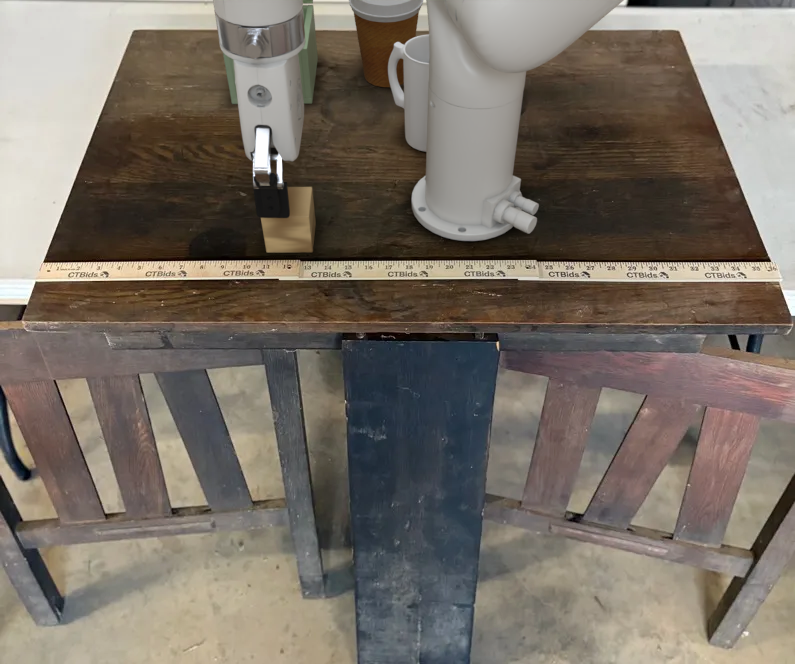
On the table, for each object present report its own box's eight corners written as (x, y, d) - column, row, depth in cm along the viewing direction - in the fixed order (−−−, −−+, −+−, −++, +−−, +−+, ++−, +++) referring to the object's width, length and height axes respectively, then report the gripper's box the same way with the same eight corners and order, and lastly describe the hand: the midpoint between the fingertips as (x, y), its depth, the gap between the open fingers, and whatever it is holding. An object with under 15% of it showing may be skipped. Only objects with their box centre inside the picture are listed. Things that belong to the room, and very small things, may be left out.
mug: (468, 136, 100) (474, 46, 91) (434, 160, 97) (437, 70, 88) (406, 107, 105) (406, 19, 96) (372, 130, 101) (369, 41, 92)
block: (315, 222, 89) (312, 186, 85) (312, 252, 86) (308, 216, 82) (271, 222, 89) (265, 186, 85) (266, 252, 86) (260, 217, 82)
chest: (312, 103, 105) (307, 48, 99) (231, 104, 105) (222, 49, 99) (317, 58, 113) (313, 4, 107) (242, 58, 113) (234, 5, 107)
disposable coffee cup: (348, 92, 107) (343, 5, 98) (356, 56, 113) (353, -29, 104) (419, 95, 106) (421, 8, 97) (423, 58, 113) (425, -27, 104)
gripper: (296, 80, 64) (309, 242, 76) (311, -17, 75) (320, 137, 88) (201, 78, 64) (230, 241, 76) (231, -19, 75) (252, 136, 88)
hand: (278, 185), depth 82 cm, fingers open, 9 cm apart
